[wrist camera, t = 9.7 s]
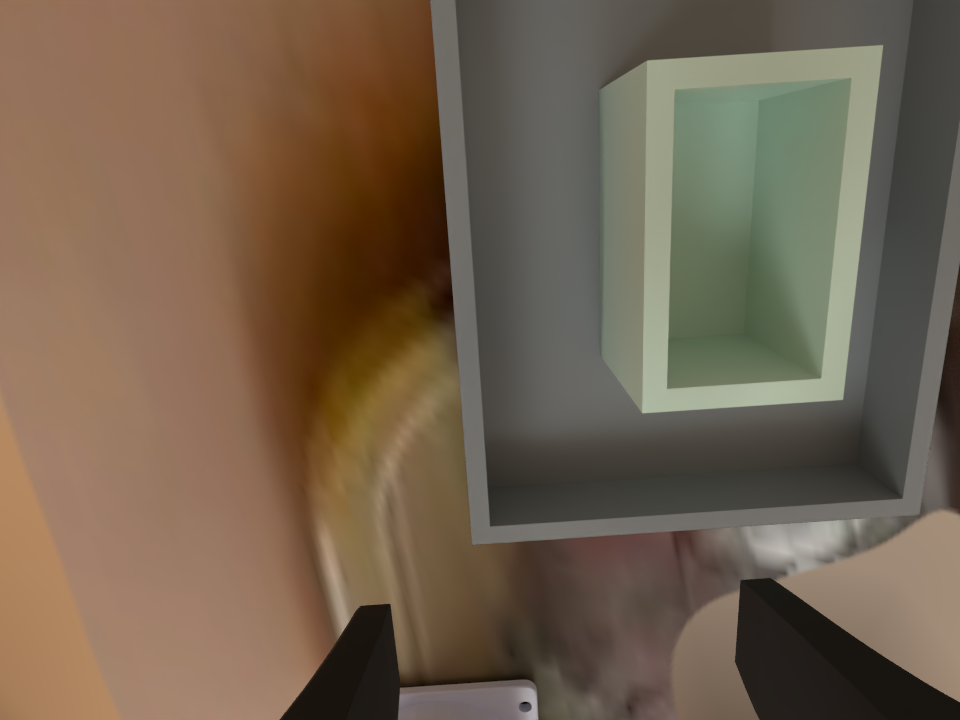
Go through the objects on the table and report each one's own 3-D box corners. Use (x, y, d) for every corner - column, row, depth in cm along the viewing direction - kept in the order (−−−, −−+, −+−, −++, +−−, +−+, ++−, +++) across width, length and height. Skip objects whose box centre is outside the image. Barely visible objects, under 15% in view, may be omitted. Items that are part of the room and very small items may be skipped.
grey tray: (860, 470, 22) (919, 514, 19) (471, 496, 22) (472, 545, 19) (936, -122, 17) (1031, -181, 14) (427, -89, 17) (419, -142, 14)
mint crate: (753, 346, 20) (842, 399, 15) (600, 356, 20) (642, 413, 15) (771, 78, 18) (883, 44, 13) (598, 90, 18) (647, 60, 13)
